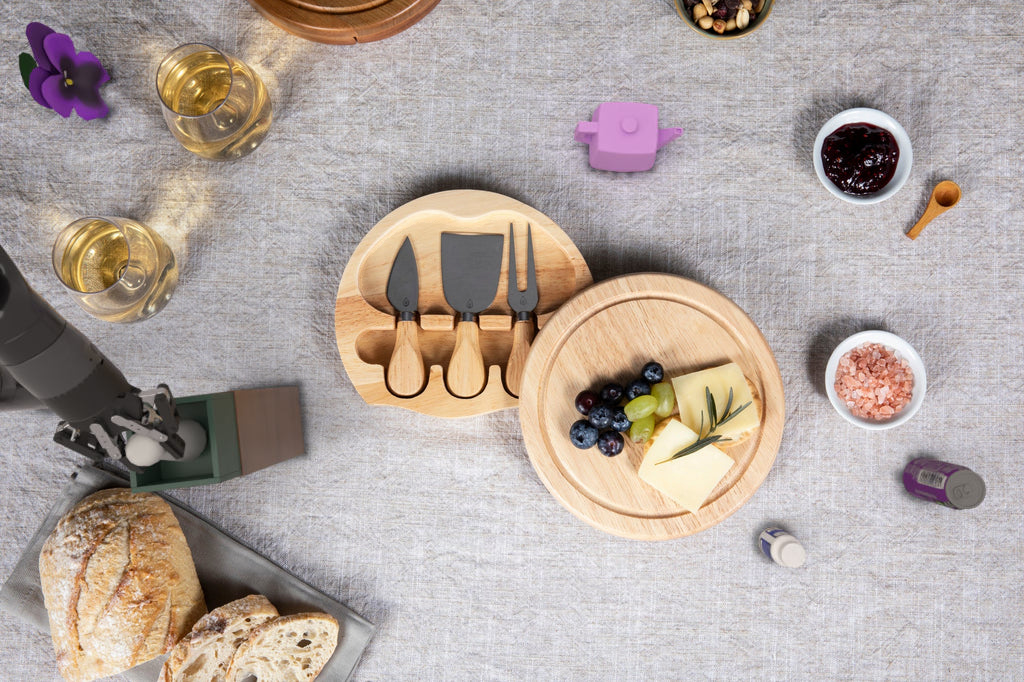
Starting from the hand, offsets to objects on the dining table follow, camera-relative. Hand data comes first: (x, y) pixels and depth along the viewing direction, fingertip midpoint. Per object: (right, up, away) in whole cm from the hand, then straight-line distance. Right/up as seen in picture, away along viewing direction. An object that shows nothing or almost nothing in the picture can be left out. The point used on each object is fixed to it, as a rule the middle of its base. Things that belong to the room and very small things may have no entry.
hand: (162, 460), depth 83 cm
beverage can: (+115, -9, +34) cm, 120 cm away
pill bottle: (+89, -20, +34) cm, 97 cm away
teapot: (+63, +50, +37) cm, 89 cm away
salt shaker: (-1, +1, +9) cm, 9 cm away
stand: (0, 0, +36) cm, 36 cm away
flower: (-37, +60, +39) cm, 80 cm away
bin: (0, +1, +10) cm, 10 cm away
